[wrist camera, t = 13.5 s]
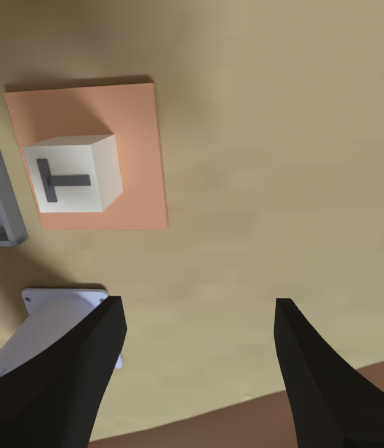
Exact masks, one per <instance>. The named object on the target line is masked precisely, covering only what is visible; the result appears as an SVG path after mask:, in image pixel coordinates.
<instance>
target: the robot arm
mask: <svg viewBox="0 0 384 448" xmlns="http://www.w3.org/2000/svg"><path fill="white" fill-rule="evenodd" d="M21 295H22V298H23V300H24V303H25V306H26V309H27V311H28V314H29V316H28V318H27V319H26V320H25V321H24V322H23V323H22V325H21V326H20V327H19V328H18V329H17V331H16V332H15V333H14V334H13V335H12V336H11V338H10V339H9V340H8V341H7V342H6V344H5V345H4V346H3V347H2V348H1V349H0V448H87V447H88V443H89V439H90V436H91V432H92V429H93V425H94V422H95V419H96V416H97V412H98V409H99V406H100V403H101V400H102V397H103V395H104V392H105V390H106V387H107V385H108V383H109V380H110V378H111V375H112V373H113V370H114V368H121V366H122V364H123V362H122V357H121V350H122V347H123V343H124V340H125V336H126V332H127V325H126V320H125V315H124V310H123V305H122V300H121V296H108V293H107V291H105V290H103V289H44V288H26V289H24V290H23V291H22V292H21ZM29 298H30V299H29ZM101 298H102V299H104V300H102V299H101ZM274 339H275V346H276V352H277V357H278V361H279V365H280V368H281V372H282V376H283V380H284V383H285V387H286V391H287V394H288V398H289V401H290V405H291V410H292V414H293V419H294V424H295V430H296V436H297V442H298V448H384V392H383V391H381V390H380V389H379V388H377V387H376V386H375V385H373V384H372V383H371V382H370V381H368V380H367V379H366V378H364V377H363V376H362V375H361V374H359V373H358V372H357V371H356V370H355V369H354V368H352V367H351V366H350V365H349V364H348V363H347V362H346V361H345V360H344V359H343V358H342V357H341V356H340V355H339V354H337V353H336V352H335V351H334V349H333V348H332V347H331V346H330V345H329V344H328V343H327V342H326V341H325V340H324V339H323V338H322V337H321V336H320V334H319V333H318V332H317V331H316V330H315V329H314V327H313V326H312V325H311V324H310V323H309V322H308V320H307V319H306V318H305V316H304V315H303V314H302V313H301V311H300V310H299V309H298V307H297V306H296V305H295V303H294V302H293V301H292V300H291V299H290V298H276V309H275V322H274Z"/></svg>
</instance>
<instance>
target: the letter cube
mask: <svg viewBox="0 0 384 448" xmlns="http://www.w3.org/2000/svg"><path fill="white" fill-rule="evenodd" d="M22 148H23V152H24V155H25V159H26V162H27V166H28V170H29V173H30V177H31V180H32V184H33V187H34V191H35V195H36V198H37V202H38V205H39V209H40V212H41V213H52V212H103V211H104V210H105V209H106V208H107V207H108V206H109V205H110V204H111V203H112V202H113V201H114V200H115V199H116V198H117V197H118V196H119V195H120V194H121V193H122V192H123V189H122V182H121V175H120V168H119V162H118V155H117V148H116V141H115V135H114V134H111V135H82V136H57V137H54V138H51V139H47V140H44V141H40V142H37V143H33V144H30V145H27V146H23V147H22Z"/></svg>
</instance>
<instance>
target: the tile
mask: <svg viewBox="0 0 384 448" xmlns="http://www.w3.org/2000/svg"><path fill="white" fill-rule="evenodd" d="M4 97H5V100H6V104H7V107H8V110H9V114H10V117H11V121H12V124H13V127H14V131H15V134H16V138H17V141H18V144H19V148H20V151H21V155H22V158H23V161H24V165H25V168H26V172H27V175H28V178H29V182H30V185H31V189H32V192H33V195H34V199H35V202H36V205H37V209H38V212H39V216H40V219H41V222H42V226H43V229H44V230H78V229H165V228H168V226H169V224H168V213H167V203H166V193H165V183H164V173H163V162H162V152H161V142H160V132H159V122H158V112H157V101H156V91H155V83H143V84H127V85H112V86H97V87H81V88H66V89H51V90H35V91H20V92H5V93H4ZM111 134H114V135H115V141H116V148H117V155H118V162H119V168H120V175H121V182H122V189H123V192H122V193H121V194H120V195H119V196H118V197H117V198H116V199H115V200H114V201H113V202H112V203H111V204H110V205H109V206H108V207H107V208H106V209H105V210H104V211H103V212H52V213H41V212H40V209H39V205H38V202H37V198H36V195H35V191H34V187H33V184H32V180H31V177H30V173H29V170H28V166H27V162H26V159H25V155H24V152H23V148H22V147H23V146H27V145H30V144H33V143H37V142H40V141H44V140H47V139H51V138H54V137H57V136H82V135H111Z"/></svg>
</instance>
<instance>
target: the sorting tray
mask: <svg viewBox="0 0 384 448" xmlns="http://www.w3.org/2000/svg"><path fill="white" fill-rule="evenodd" d="M27 238H28V235H27V232H26V229H25V226H24V223H23V220H22V217H21V214H20V210H19V207H18V204H17V201H16V198H15V195H14V192H13V189H12V186H11V183H10V180H9V176H8V173H7V170H6V167H5V164H4V161H3V158H2V155H1V152H0V247H17V246H18V245H20V244H21V243H22V242H23V241H25V240H26V239H27Z"/></svg>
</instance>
